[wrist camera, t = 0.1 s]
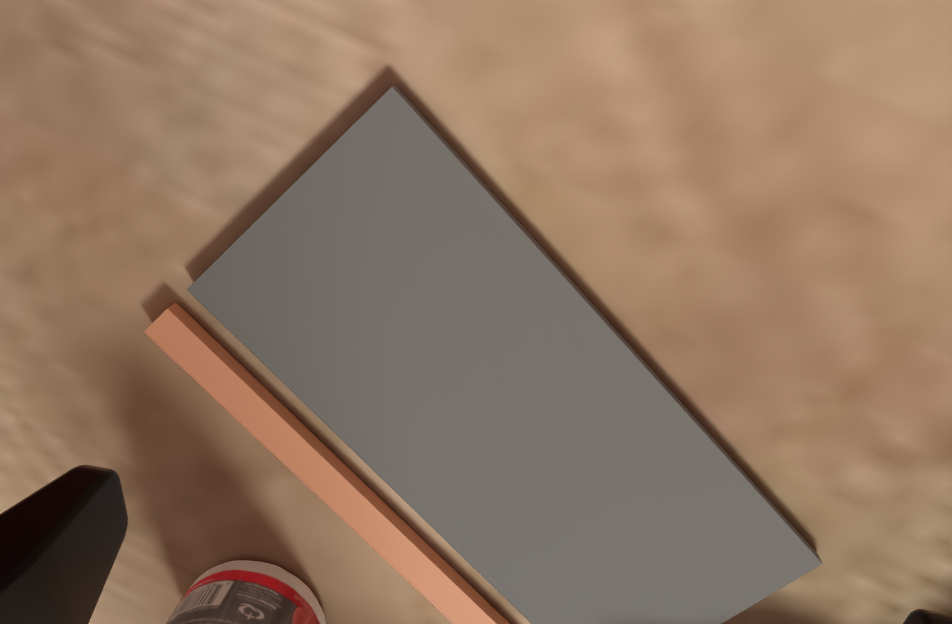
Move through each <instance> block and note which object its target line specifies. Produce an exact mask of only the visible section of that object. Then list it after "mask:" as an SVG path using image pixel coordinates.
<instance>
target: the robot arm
mask: <svg viewBox="0 0 952 624" xmlns="http://www.w3.org/2000/svg"><path fill="white" fill-rule="evenodd" d="M127 525H128V515H127V510H126V506H125V501H124V496H123V492H122V487H121V482H120V478H119V475H118V474H117V473H116V472H115V471H114V470H112V469H107V468H102V467H96V466H90V465H80V466H77V467H75V468H73V469H71V470H69V471H68V472H66V473H65V474H63V475H61V476H60V477H58V478H57V479H55V480H53V481H52V482H50V483H49V484H47V485H46V486H44V487H42V488H41V489H39V490H38V491H36V492H34V493H33V494H31V495H30V496H28V497H27V498H25V499H23V500H22V501H20V502H19V503H17V504H15V505H14V506H12V507H11V508H9V509H8V510H6V511H4V512H3V513H1V514H0V624H88V623H89V621H90V618H91V616H92V614H93V611H94V609H95V607H96V604H97V602H98V599H99V597H100V595H101V592H102V590H103V587H104V585H105V583H106V580H107V578H108V576H109V573H110V571H111V568H112V566H113V564H114V561H115V559H116V557H117V554H118V552H119V549H120V547H121V545H122V542H123V540H124V537H125V534H126V531H127ZM903 624H952V615H951V614H948V613H942V612H936V611H930V610H925V609H917V610H915V611H913V612H911V613H910V614H909V616H908V617H907V618H906V620H905V621H904V623H903Z"/></svg>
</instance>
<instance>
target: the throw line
mask: <svg viewBox="0 0 952 624" xmlns="http://www.w3.org/2000/svg"><path fill="white" fill-rule="evenodd" d="M144 333H145V334H147V335H148V336H149V337H150V338H151V339H152V340H153V341H154V342H155V343H156V344H157V345H158V346H159V347H160V348H161V349H162V350H163V351H165V352H166V353H167V354H168V355H169V356H170V357H171V358H172V359H173V360H174V361H175V362H176V363H177V364H178V365H179V366H180V367H182V368H183V369H184V370H185V371H186V372H187V373H188V374H189V375H190V376H191V377H192V378H193V379H194V380H195V381H196V382H197V383H198V384H200V385H201V386H202V387H203V388H204V389H205V390H206V391H207V392H208V393H209V394H210V395H211V396H212V397H213V398H214V399H215V400H217V401H218V402H219V403H220V404H221V405H222V406H223V407H224V408H225V409H226V410H227V411H228V412H229V413H230V414H231V415H232V416H233V417H235V418H236V419H237V420H238V421H239V422H240V423H241V424H242V425H243V426H244V427H245V428H246V429H247V430H248V431H249V432H250V433H252V434H253V435H254V436H255V437H256V438H257V439H258V440H259V441H260V442H261V443H262V444H263V445H264V446H265V447H266V448H267V449H268V450H270V451H271V452H272V453H273V454H274V455H275V456H276V457H277V458H278V459H279V460H280V461H281V462H282V463H283V464H284V465H285V466H286V467H288V468H289V469H290V470H291V471H292V472H293V473H294V474H295V475H296V476H297V477H298V478H299V479H300V480H301V481H302V482H303V483H305V484H306V485H307V486H308V487H309V488H310V489H311V490H312V491H313V492H314V493H315V494H316V495H317V496H318V497H319V498H320V499H321V500H323V501H324V502H325V503H326V504H327V505H328V506H329V507H330V508H331V509H332V510H333V511H334V512H335V513H336V514H337V515H338V516H340V517H341V518H342V519H343V520H344V521H345V522H346V523H347V524H348V525H349V526H350V527H351V528H352V529H353V530H354V531H355V532H356V533H358V534H359V535H360V536H361V537H362V538H363V539H364V540H365V541H366V542H367V543H368V544H369V545H370V546H371V547H372V548H373V549H375V550H376V551H377V552H378V553H379V554H380V555H381V556H382V557H383V558H384V559H385V560H386V561H387V562H388V563H389V564H390V565H391V566H393V567H394V568H395V569H396V570H397V571H398V572H399V573H400V574H401V575H402V576H403V577H404V578H405V579H406V580H407V581H408V582H410V583H411V584H412V585H413V586H414V587H415V588H416V589H417V590H418V591H419V592H420V593H421V594H422V595H423V596H424V597H425V598H426V599H428V600H429V601H430V602H431V603H432V604H433V605H434V606H435V607H436V608H437V609H438V610H439V611H440V612H441V613H442V614H443V615H444V616H446V617H447V618H448V619H449V620H450V621H451V622H452V623H453V624H510V623H509V622H508V621H507V620H506V619H505V618H504V617H503V616H502V615H501V614H499V613H498V612H497V611H496V610H495V609H494V608H493V607H492V606H491V605H490V604H489V603H488V602H487V601H486V600H485V599H484V598H483V597H482V596H481V595H480V594H479V593H478V592H477V591H476V590H475V589H474V588H472V587H471V586H470V585H469V584H468V583H467V582H466V581H465V580H464V579H463V578H462V577H461V576H460V575H459V574H458V573H457V572H456V571H455V570H454V569H453V568H452V567H451V566H450V565H449V564H448V563H447V562H445V561H444V560H443V559H442V558H441V557H440V556H439V555H438V554H437V553H436V552H435V551H434V550H433V549H432V548H431V547H430V546H429V545H428V544H427V543H426V542H425V541H424V540H423V539H422V538H421V537H419V536H418V535H417V534H416V533H415V532H414V531H413V530H412V529H411V528H410V527H409V526H408V525H407V524H406V523H405V522H404V521H403V520H402V519H401V518H400V517H399V516H398V515H397V514H396V513H395V512H394V511H392V510H391V509H390V508H389V507H388V506H387V505H386V504H385V503H384V502H383V501H382V500H381V499H380V498H379V497H378V496H377V495H376V494H375V493H374V492H373V491H372V490H371V489H370V488H369V487H368V486H366V485H365V484H364V483H363V482H362V481H361V480H360V479H359V478H358V477H357V476H356V475H355V474H354V473H353V472H352V471H351V470H350V469H349V468H348V467H347V466H346V465H345V464H344V463H343V462H342V461H341V460H339V459H338V458H337V457H336V456H335V455H334V454H333V453H332V452H331V451H330V450H329V449H328V448H327V447H326V446H325V445H324V444H323V443H322V442H321V441H320V440H319V439H318V438H317V437H316V436H315V435H313V434H312V433H311V432H310V431H309V430H308V429H307V428H306V427H305V426H304V425H303V424H302V423H301V422H300V421H299V420H298V419H297V418H296V417H295V416H294V415H293V414H292V413H291V412H290V411H289V410H288V409H286V408H285V407H284V406H283V405H282V404H281V403H280V402H279V401H278V400H277V399H276V398H275V397H274V396H273V395H272V394H271V393H270V392H269V391H268V390H267V389H266V388H265V387H264V386H263V385H262V384H260V383H259V382H258V381H257V380H256V379H255V378H254V377H253V376H252V375H251V374H250V373H249V372H248V371H247V370H246V369H245V368H244V367H243V366H242V365H241V364H240V363H239V362H238V361H237V360H236V359H235V358H233V357H232V356H231V355H230V354H229V353H228V352H227V351H226V350H225V349H224V348H223V347H222V346H221V345H220V344H219V343H218V342H217V341H216V340H215V339H214V338H213V337H212V336H211V335H210V334H209V333H207V332H206V331H205V330H204V329H203V328H202V327H201V326H200V325H199V324H198V323H197V322H196V321H195V320H194V319H193V318H192V317H191V316H190V315H189V314H188V313H187V312H186V311H185V310H184V309H183V308H182V307H180V306H179V305H178V304H177V303H176V302H175V303H174V304H173V305H171V306H170V307H169V308H167V309H166V310H165V311H164V312H163V313H162V314H161V315H160V316H159V317H158V318H157V319H156V320H155V321H154V322H153V323H152V324H151V325H150V326H149V327H148V328H147V329H146V330H145V331H144Z"/></svg>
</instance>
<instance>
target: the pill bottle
mask: <svg viewBox="0 0 952 624" xmlns="http://www.w3.org/2000/svg"><path fill="white" fill-rule="evenodd" d="M166 624H326V622H325V616H324V613H323V610H322V608H321V606H320V605H319V602H318V601H317V599H316V597H315V596H314V594H313V593H312V591H311V590H310V589H309V588H308V587H307V585H305V584H304V583H303V582H302V581H301V580H300V579H299V578H297V577H296V576H294V575H293V574H291V573H289V572H287V571H286V570H284V569H282V568H281V567H279V566H276V565H273V564H269V563H264V562H259V561H249V560H236V561H229V562H226V563H223V564H220V565H217V566H215V567H213V568H211V569H209V570H207V571H206V572H204V573H203V574H202V575H201V576H199V577H198V578H197V579H196V581H195V582H194V583H193V584H192V586H191V587H190V588H189V590H188V591H187V593H186V594H185V596H184V597H183V598H182V600H181V601H180V603H179V604H178V605H177V607H176V609H175V610H174V612H173V614H172V615H171V617H170V618H169V620H168V621H167V623H166Z"/></svg>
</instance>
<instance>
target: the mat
mask: <svg viewBox="0 0 952 624" xmlns="http://www.w3.org/2000/svg"><path fill="white" fill-rule="evenodd" d="M187 290H188V291H189V292H190V293H191V294H192V295H193V296H194V297H195V298H196V299H197V300H198V301H199V302H200V303H201V304H202V305H203V306H204V307H205V308H206V309H207V310H208V311H209V312H210V313H212V314H213V315H214V316H215V317H216V318H217V319H218V320H219V321H220V322H221V323H222V324H223V325H224V326H225V327H226V328H227V329H228V330H229V331H230V332H231V333H232V334H233V335H234V336H235V337H236V338H237V339H238V340H239V341H240V342H241V343H242V344H243V345H245V346H246V347H247V348H248V349H249V350H250V351H251V352H252V353H253V354H254V355H255V356H256V357H257V358H258V359H259V360H260V361H261V362H262V363H263V364H264V365H265V366H266V367H267V368H268V369H269V370H270V371H271V372H272V373H273V374H274V375H275V376H276V377H278V378H279V379H280V380H281V381H282V382H283V383H284V384H285V385H286V386H287V387H288V388H289V389H290V390H291V391H292V392H293V393H294V394H295V395H296V396H297V397H298V398H299V399H300V400H301V401H302V402H303V403H304V404H305V405H306V406H307V407H308V408H309V409H311V410H312V411H313V412H314V413H315V414H316V415H317V416H318V417H319V418H320V419H321V420H322V421H323V422H324V423H325V424H326V425H327V426H328V427H329V428H330V429H331V430H332V431H333V432H334V433H335V434H336V435H337V436H338V437H339V438H340V439H341V440H342V441H344V442H345V443H346V444H347V445H348V446H349V447H350V448H351V449H352V450H353V451H354V452H355V453H356V454H357V455H358V456H359V457H360V458H361V459H362V460H363V461H364V462H365V463H366V464H367V465H368V466H369V467H370V468H371V469H372V470H373V471H374V472H375V473H377V474H378V475H379V476H380V477H381V478H382V479H383V480H384V481H385V482H386V483H387V484H388V485H389V486H390V487H391V488H392V489H393V490H394V491H395V492H396V493H397V494H398V495H399V496H400V497H401V498H402V499H403V500H404V501H405V502H406V503H407V504H408V505H410V506H411V507H412V508H413V509H414V510H415V511H416V512H417V513H418V514H419V515H420V516H421V517H422V518H423V519H424V520H425V521H426V522H427V523H428V524H429V525H430V526H431V527H432V528H433V529H434V530H435V531H436V532H437V533H438V534H439V535H440V536H441V537H443V538H444V539H445V540H446V541H447V542H448V543H449V544H450V545H451V546H452V547H453V548H454V549H455V550H456V551H457V552H458V553H459V554H460V555H461V556H462V557H463V558H464V559H465V560H466V561H467V562H468V563H469V564H470V565H471V566H472V567H473V568H474V569H476V570H477V571H478V572H479V573H480V574H481V575H482V576H483V577H484V578H485V579H486V580H487V581H488V582H489V583H490V584H491V585H492V586H493V587H494V588H495V589H496V590H497V591H498V592H499V593H500V594H501V595H502V596H503V597H504V598H505V599H506V600H507V601H509V602H510V603H511V604H512V605H513V606H514V607H515V608H516V609H517V610H518V611H519V612H520V613H521V614H522V615H523V616H524V617H525V618H526V619H527V620H528V621H529V622H530V623H531V624H722V623H724V622H726V621H727V620H729V619H731V618H732V617H734V616H736V615H737V614H739V613H741V612H742V611H744V610H746V609H747V608H749V607H751V606H752V605H754V604H756V603H757V602H759V601H761V600H762V599H764V598H766V597H767V596H769V595H771V594H772V593H774V592H776V591H777V590H779V589H781V588H782V587H784V586H786V585H787V584H789V583H791V582H792V581H794V580H796V579H797V578H799V577H801V576H802V575H804V574H806V573H807V572H809V571H811V570H812V569H814V568H816V567H817V566H819V565H821V564H822V562H821V560H820V558H819V556H818V554H817V553H816V551H815V550H814V549H813V548H812V547H811V546H810V545H809V544H808V543H807V541H806V540H805V539H804V538H803V537H802V536H801V535H800V534H799V533H798V531H797V530H796V529H795V528H794V527H793V526H792V525H791V524H790V523H789V521H788V520H787V519H786V518H785V517H784V516H783V515H782V514H781V513H780V511H779V510H778V509H777V508H776V507H775V506H774V505H773V504H772V503H771V501H770V500H769V499H768V498H767V497H766V496H765V495H764V494H763V493H762V492H761V490H760V489H759V488H758V487H757V486H756V485H755V484H754V483H753V482H752V480H751V479H750V478H749V477H748V476H747V475H746V474H745V473H744V472H743V470H742V469H741V468H740V467H739V466H738V465H737V464H736V463H735V462H734V460H733V459H732V458H731V457H730V456H729V455H728V454H727V453H726V452H725V450H724V449H723V448H722V447H721V446H720V445H719V444H718V443H717V442H716V440H715V439H714V438H713V437H712V436H711V435H710V434H709V433H708V432H707V430H706V429H705V428H704V427H703V426H702V425H701V424H700V423H699V422H698V420H697V419H696V418H695V417H694V416H693V415H692V414H691V413H690V412H689V410H688V409H687V408H686V407H685V406H684V405H683V404H682V403H681V402H680V400H679V399H678V398H677V397H676V396H675V395H674V394H673V393H672V392H671V390H670V389H669V388H668V387H667V386H666V385H665V384H664V383H663V382H662V380H661V379H660V378H659V377H658V376H657V375H656V374H655V373H654V372H653V370H652V369H651V368H650V367H649V366H648V365H647V364H646V363H645V362H644V360H643V359H642V358H641V357H640V356H639V355H638V354H637V353H636V352H635V350H634V349H633V348H632V347H631V346H630V345H629V344H628V343H627V342H626V340H625V339H624V338H623V337H622V336H621V335H620V334H619V333H618V332H617V330H616V329H615V328H614V327H613V326H612V325H611V324H610V323H609V322H608V321H607V319H606V318H605V317H604V316H603V315H602V314H601V313H600V312H599V311H598V309H597V308H596V307H595V306H594V305H593V304H592V303H591V302H590V301H589V299H588V298H587V297H586V296H585V295H584V294H583V293H582V292H581V291H580V289H579V288H578V287H577V286H576V285H575V284H574V283H573V282H572V281H571V279H570V278H569V277H568V276H567V275H566V274H565V273H564V272H563V271H562V269H561V268H560V267H559V266H558V265H557V264H556V263H555V262H554V261H553V259H552V258H551V257H550V256H549V255H548V254H547V253H546V252H545V251H544V249H543V248H542V247H541V246H540V245H539V244H538V243H537V242H536V241H535V239H534V238H533V237H532V236H531V235H530V234H529V233H528V232H527V231H526V229H525V228H524V227H523V226H522V225H521V224H520V223H519V222H518V221H517V219H516V218H515V217H514V216H513V215H512V214H511V213H510V212H509V211H508V209H507V208H506V207H505V206H504V205H503V204H502V203H501V202H500V201H499V199H498V198H497V197H496V196H495V195H494V194H493V193H492V192H491V191H490V189H489V188H488V187H487V186H486V185H485V184H484V183H483V182H482V181H481V179H480V178H479V177H478V176H477V175H476V174H475V173H474V172H473V171H472V169H471V168H470V167H469V166H468V165H467V164H466V163H465V162H464V161H463V159H462V158H461V157H460V156H459V155H458V154H457V153H456V152H455V151H454V149H453V148H452V147H451V146H450V145H449V144H448V143H447V142H446V141H445V140H444V138H443V137H442V136H441V135H440V134H439V133H438V132H437V131H436V130H435V128H434V127H433V126H432V125H431V124H430V123H429V122H428V121H427V120H426V118H425V117H424V116H423V115H422V114H421V113H420V112H419V111H418V110H417V108H416V107H415V106H414V105H413V104H412V103H411V102H410V101H409V100H408V98H407V97H406V96H405V95H404V94H403V93H402V92H401V91H400V90H399V88H398V87H397V86H396V85H394V86H392V87H391V88H390V89H389V90H388V91H387V92H386V93H385V94H384V95H383V96H382V97H381V98H380V99H379V100H378V101H377V102H376V103H375V104H374V105H373V106H372V107H371V108H370V109H369V110H368V111H367V112H366V113H365V114H364V115H363V116H362V117H361V118H360V119H359V120H358V121H357V122H356V123H355V124H353V125H352V126H351V127H350V128H349V129H348V130H347V131H346V132H345V133H344V134H343V135H342V136H341V137H340V138H339V139H338V140H337V141H336V142H335V143H334V144H333V145H332V146H331V147H330V148H329V149H328V150H327V151H326V152H325V153H324V154H323V155H322V156H321V157H320V158H319V159H318V160H317V161H316V162H315V163H314V164H313V165H312V166H311V167H310V168H309V169H308V170H307V171H306V172H305V173H304V174H303V175H302V176H301V177H300V178H299V179H298V180H297V181H296V182H295V183H294V184H293V185H292V186H291V187H290V188H289V189H288V190H287V191H286V192H285V193H284V194H283V195H282V196H281V197H280V198H279V199H278V200H277V201H276V202H275V203H274V204H273V205H272V206H271V207H270V208H269V209H268V210H267V211H266V212H265V213H264V214H263V215H262V216H261V217H260V218H258V219H257V220H256V221H255V222H254V223H253V224H252V225H251V226H250V227H249V228H248V229H247V230H246V231H245V232H244V233H243V234H242V235H241V236H240V237H239V238H238V239H237V240H236V241H235V242H234V243H233V244H232V245H231V246H230V247H229V248H228V249H227V250H226V251H225V252H224V253H223V254H222V255H221V256H220V257H219V258H218V259H217V260H216V261H215V262H214V263H213V264H212V265H211V266H210V267H209V268H208V269H207V270H206V271H205V272H204V273H203V274H202V275H201V276H200V277H199V278H198V279H197V280H196V281H195V282H194V283H193V284H192V285H191V286H190V287H189V288H188V289H187Z"/></svg>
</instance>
